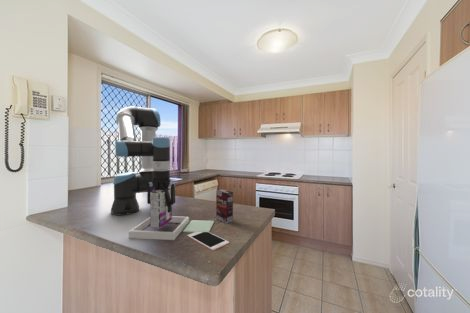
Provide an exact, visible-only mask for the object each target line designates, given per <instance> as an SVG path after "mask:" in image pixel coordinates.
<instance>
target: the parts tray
mask: <svg viewBox="0 0 470 313" xmlns="http://www.w3.org/2000/svg"><path fill="white" fill-rule="evenodd" d="M168 223H170V224H171V223H172V224H176V223H177V224H178V226H177V227H176V228H175V229H174V230H173V231H161V230H160V231H156V230H144V229H145V228H147V227H148V226H149V225H151V220H150V216H149V217H147V218H146V219H144V220H143V221H142V222H140V223H139V224H137V225H135V226H134V227H132V228H131V229H130V230H128V239H139V240H141V239H143V240H163V241H175V240H176V239H177V237H178V236H179V235H180V233H182V232H183V230H184V229H185V228H186V227H187V225H188V224H189V223H190V217H189V216H182V215H181V216H180V215H179V216H173V215H172V219H171V220H170V221H169V222H168Z"/></svg>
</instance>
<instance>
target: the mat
mask: <svg viewBox="0 0 470 313" xmlns="http://www.w3.org/2000/svg"><path fill="white" fill-rule="evenodd" d="M214 224H215V220H199V219H198V220H197V219H191V220H190V221H189V223H188V224H187V225H186V227H185V228H184V229H183V230H182V232H183V233H189V234H191V233H194V232H210V231H211V229H212V227H213V225H214ZM210 233H211V232H210Z"/></svg>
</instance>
